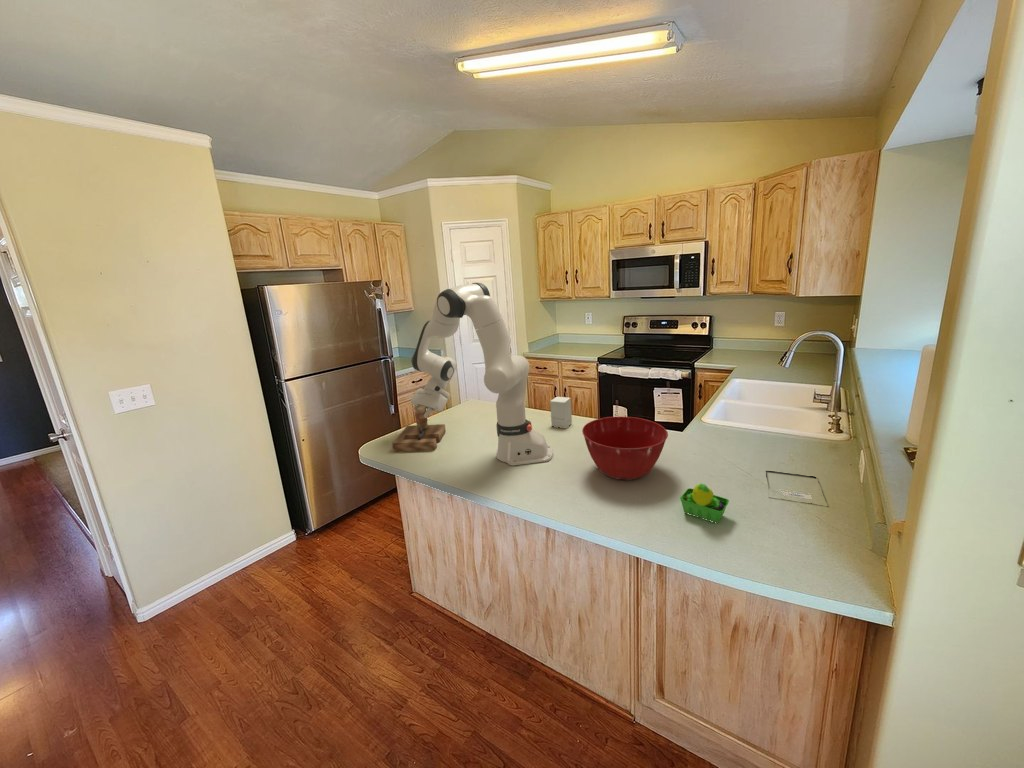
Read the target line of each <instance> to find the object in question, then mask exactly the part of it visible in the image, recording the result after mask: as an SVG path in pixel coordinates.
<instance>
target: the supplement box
mask: <svg viewBox="0 0 1024 768" xmlns="http://www.w3.org/2000/svg"><path fill="white" fill-rule="evenodd" d="M549 403H550V418H551V419H550V420H551V427H552V426H554V427H553V428H558V427H560V428H559V429H565V428H566V429H567V428H569V425H570V424H571V423H572V424H573V418H572V417H573V416H572V415H573V414H572V398H571V397H565V396H556V397H554V398H552V399H551V400H550V401H549ZM572 424H571V425H572ZM571 425H570V426H571Z"/></svg>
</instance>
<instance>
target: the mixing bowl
mask: <svg viewBox="0 0 1024 768" xmlns="http://www.w3.org/2000/svg"><path fill="white" fill-rule="evenodd" d="M581 431H582V435H583V438H584V441H585V444H586V447H587V450H588V453H589V454H590V456H591V459H592V461H593V463H594V464H595V465H596V467H597V469H598V470H600V472H602V473H603V474H605V475H606V476H607V477H610V478H612V477H613V478H612V479H615V478H618V479H617V480H620V479H633V480H636V479H635V478H637V479H639V478H642V477H644V476H646V475H647V474H648V473H649V472H650V471H652V470H653V468H654V466H655V465H656V464H657V462H658V460H659V459H660V457H661V456H660V455H661V454H662V452H663V448H664V446H665V443H666V441H667V439H668V437H669V434H668V431H667V429H666V428H665V427H664V426H662V425H661V424H659V423H657V422H655V421H652V420H649V419H646V418H645V419H644V418H641V417H636V416H635V417H633V416H606V417H601V418H597V419H594V420H591V421H589V422H587V423H586V424H585V425H584V426H583V427H582V429H581Z"/></svg>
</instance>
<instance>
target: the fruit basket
mask: <svg viewBox="0 0 1024 768" xmlns="http://www.w3.org/2000/svg"><path fill="white" fill-rule="evenodd" d="M679 500H680V502H681V505H682V508H683V513H684V512H685V513H689V514H692V515H695V516H698V517H701V518H704V519H707V520H711V521H713V522H716V523H717V522H718V521H719V522H720V520H721V519H720V518H722V517H723V516H724V513H725V511H726V508H727V506H728V504H729V502H730V500H729V499H728V498H725V497H722V496H718V495H715V494H714V492H713V490H712V489H711V488H710V487H708V486H707V485H706V484H705V483H699V484H696V485H695V486H694V488H691V487H690V488H687V489H686V490H685V492H684V493H683V494H682V495H681V496H680V497H679ZM685 513H684V514H685ZM692 515H691V516H692ZM722 515H723V516H722ZM701 518H700V519H701ZM719 522H718V523H719ZM718 523H717V524H718Z"/></svg>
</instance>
